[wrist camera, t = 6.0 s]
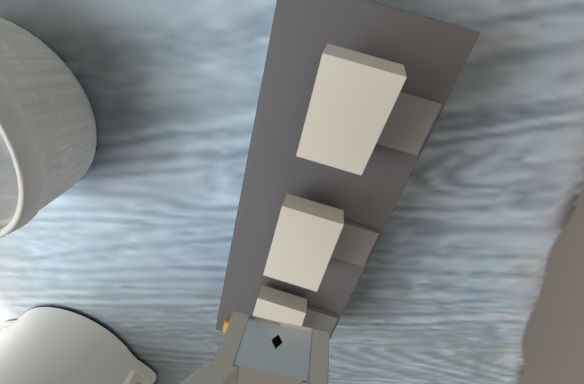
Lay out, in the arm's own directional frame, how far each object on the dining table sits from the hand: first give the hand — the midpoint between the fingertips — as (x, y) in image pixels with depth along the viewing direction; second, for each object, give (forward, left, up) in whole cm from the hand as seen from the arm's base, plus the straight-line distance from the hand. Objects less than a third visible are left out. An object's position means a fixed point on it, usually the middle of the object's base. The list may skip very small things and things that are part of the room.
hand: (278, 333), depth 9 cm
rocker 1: (-1, 0, -7) cm, 7 cm away
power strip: (-4, 0, -12) cm, 12 cm away
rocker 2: (-8, 0, -7) cm, 11 cm away
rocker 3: (+6, 0, -7) cm, 9 cm away
